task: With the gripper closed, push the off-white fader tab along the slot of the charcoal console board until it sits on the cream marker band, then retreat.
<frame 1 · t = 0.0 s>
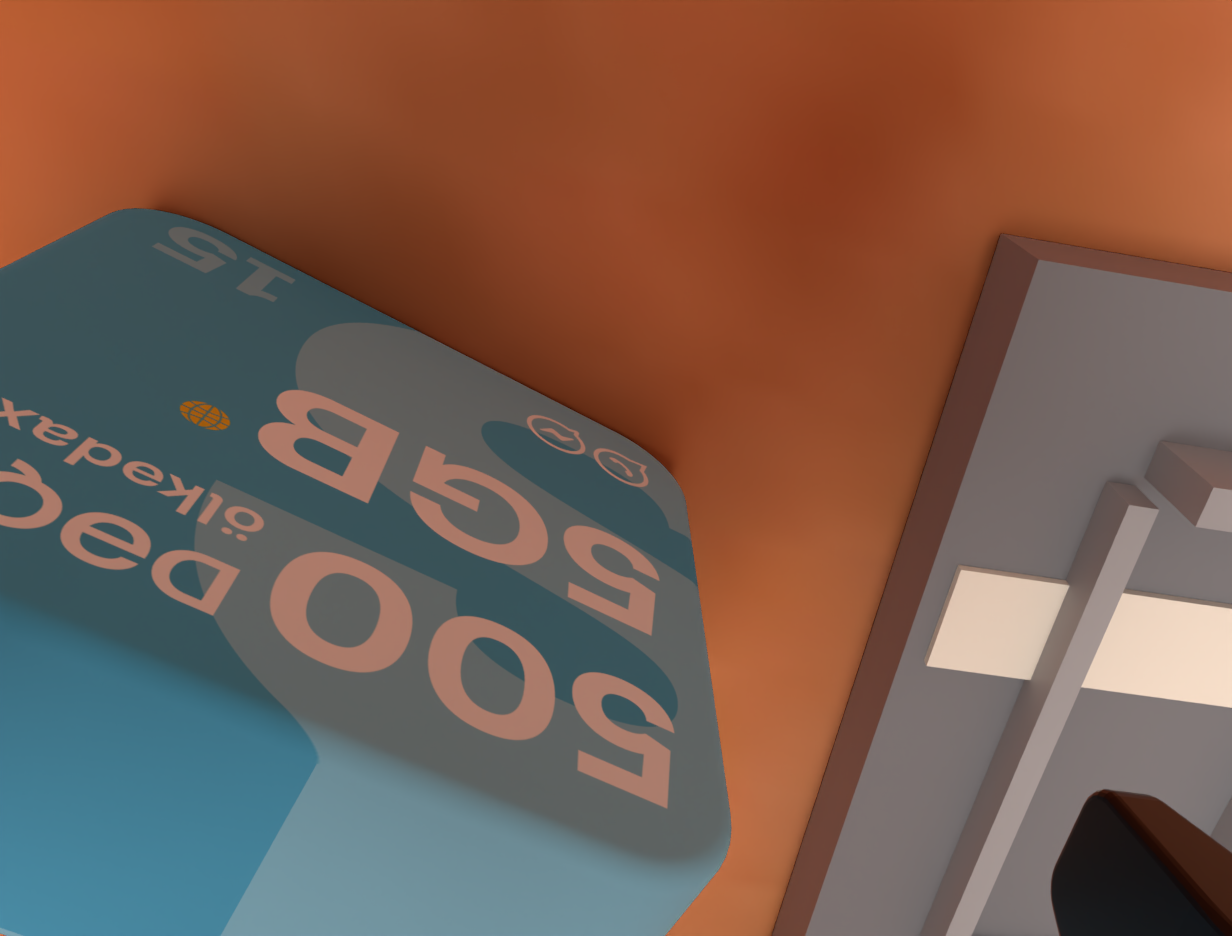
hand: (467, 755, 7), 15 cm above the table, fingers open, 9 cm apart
data package: (389, 419, 22), on the table
console board: (1077, 749, 26), on the table
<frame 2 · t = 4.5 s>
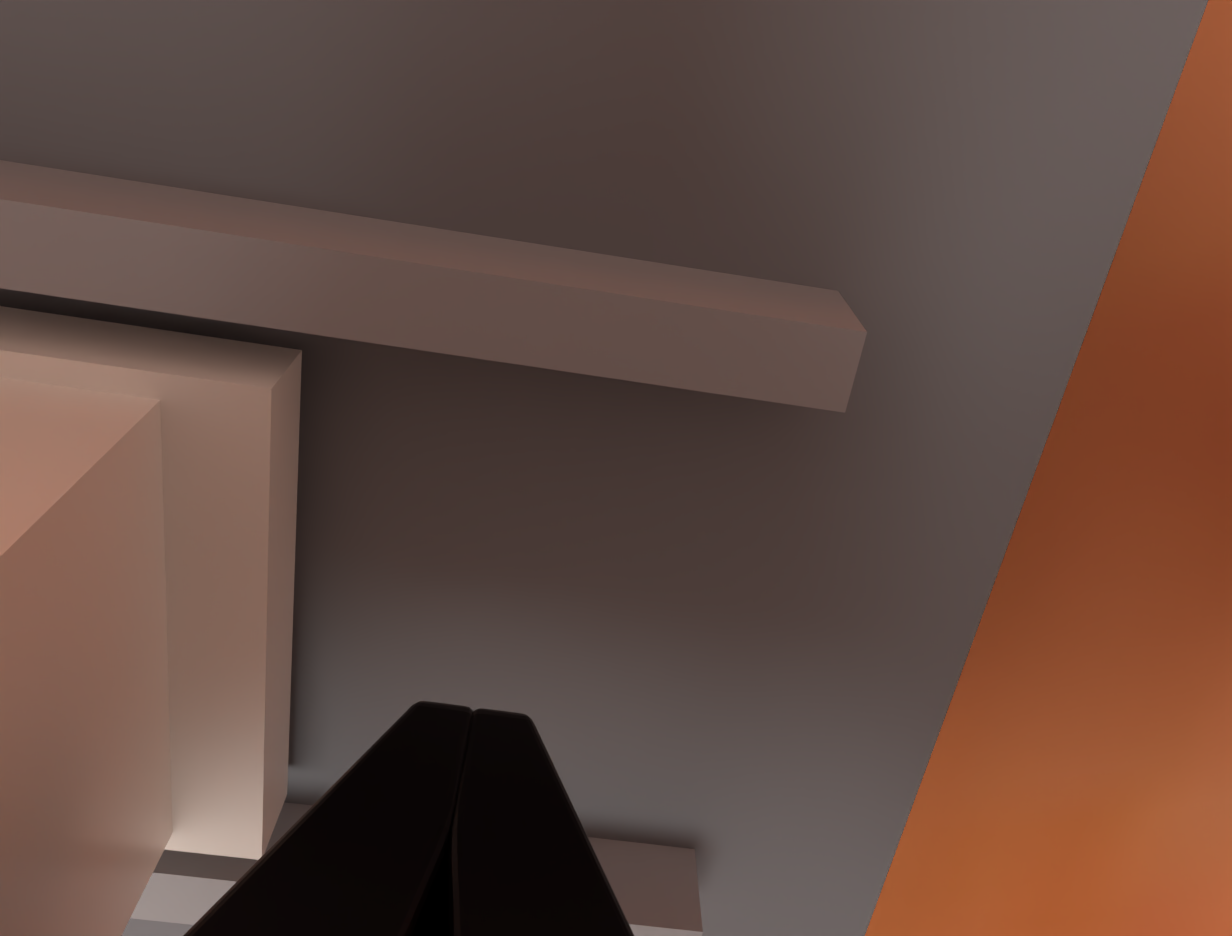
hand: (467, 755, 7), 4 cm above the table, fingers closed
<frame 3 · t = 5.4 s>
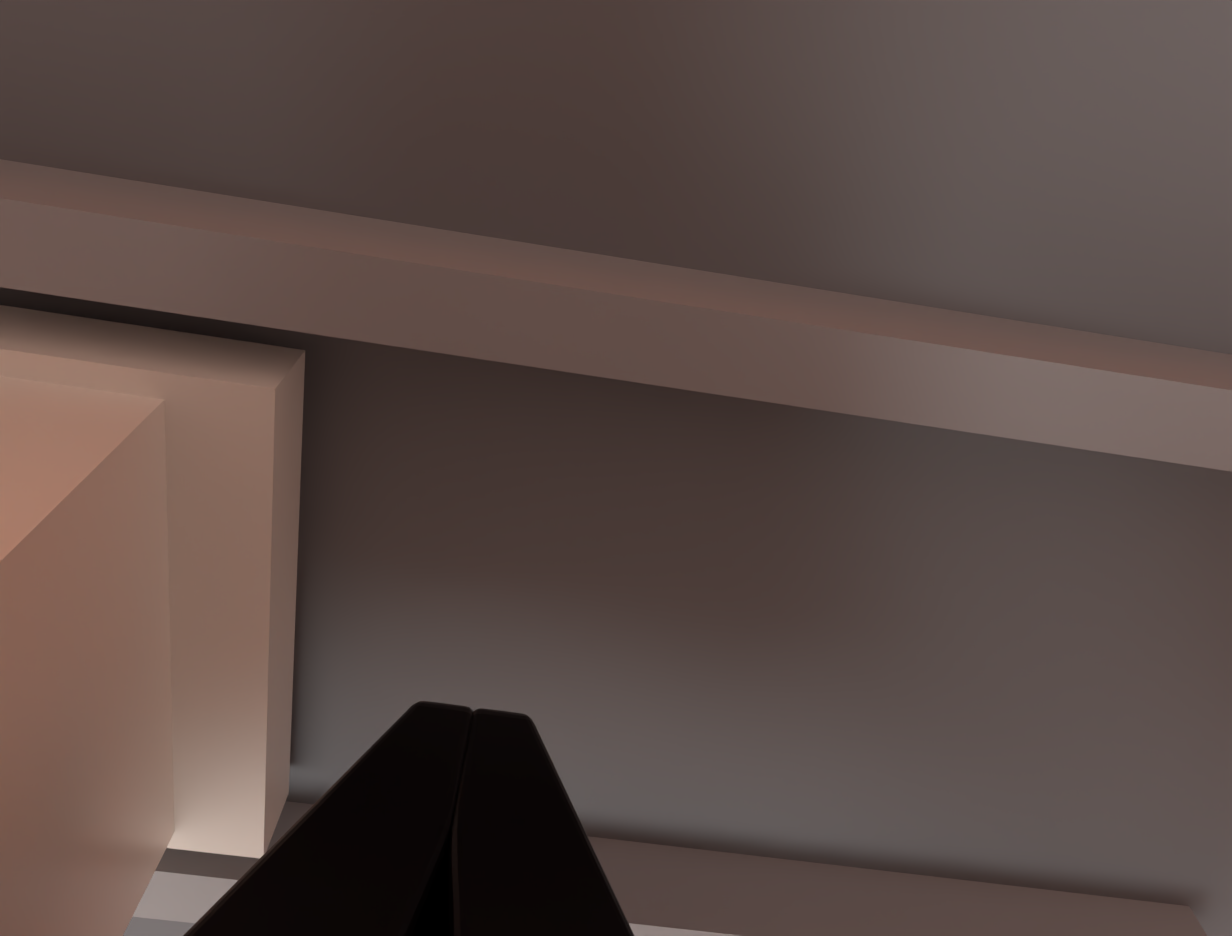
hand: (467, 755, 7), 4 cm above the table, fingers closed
console board: (277, 464, 11), on the table
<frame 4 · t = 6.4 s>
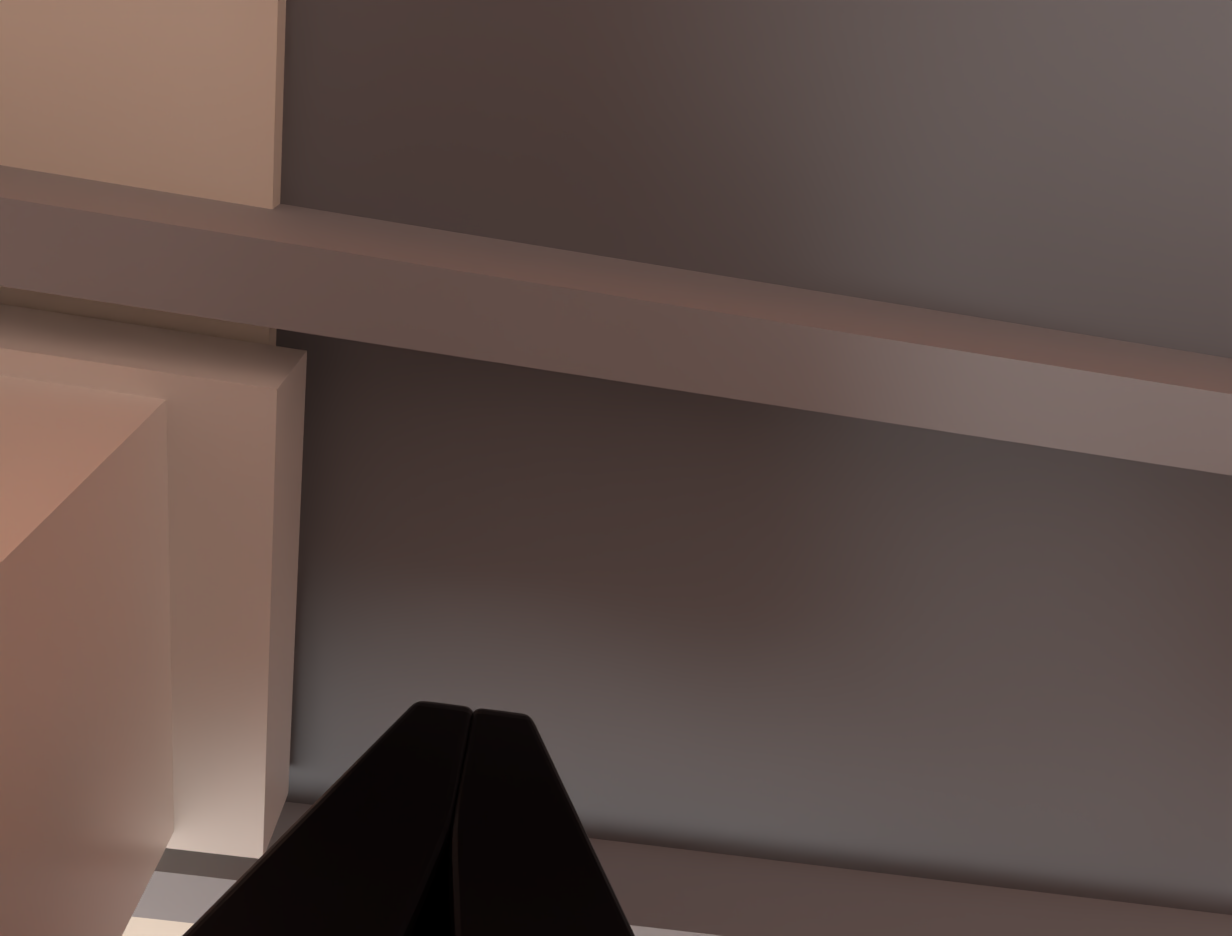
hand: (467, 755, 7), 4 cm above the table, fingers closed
console board: (638, 516, 11), on the table
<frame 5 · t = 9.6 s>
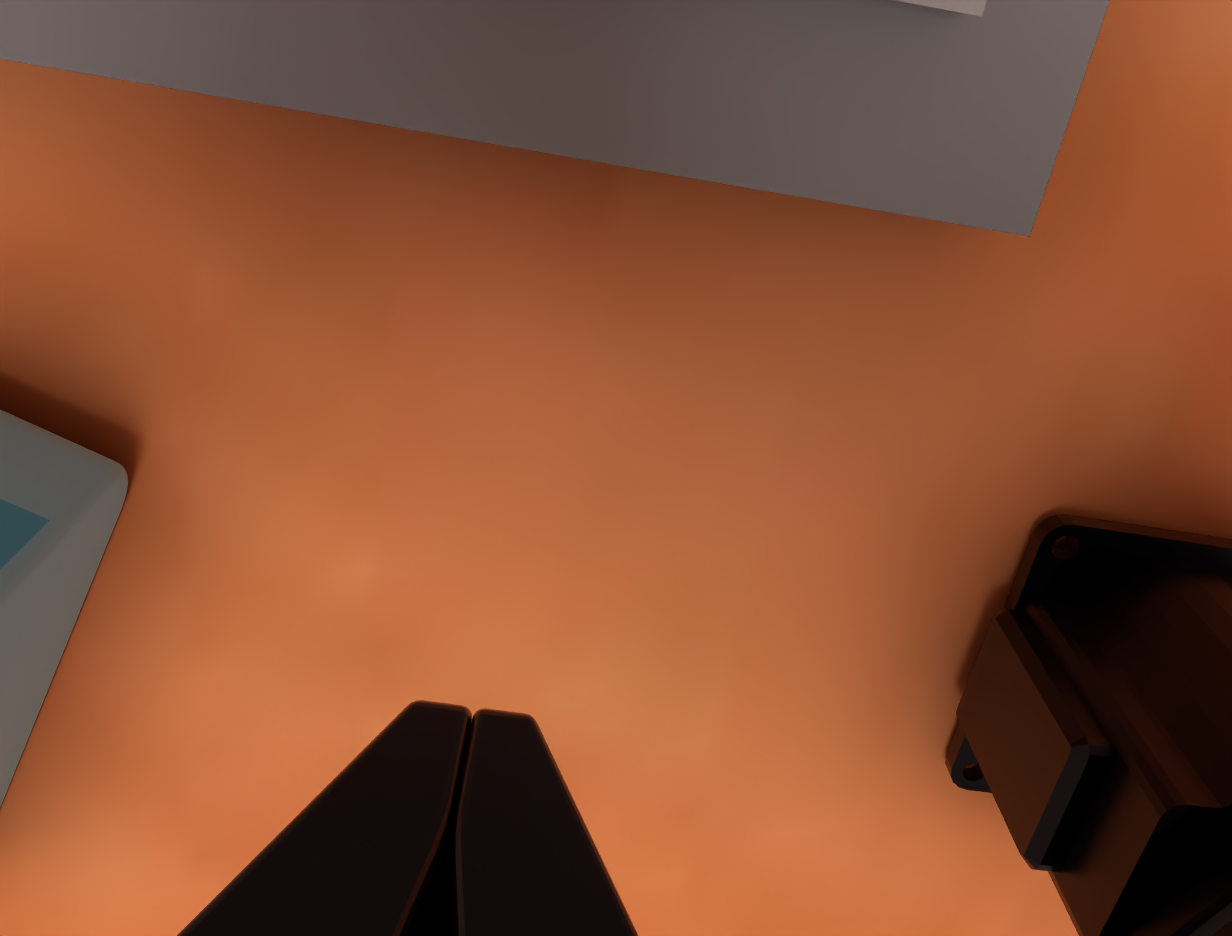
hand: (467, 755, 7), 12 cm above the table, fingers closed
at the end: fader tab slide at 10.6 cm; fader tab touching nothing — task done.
